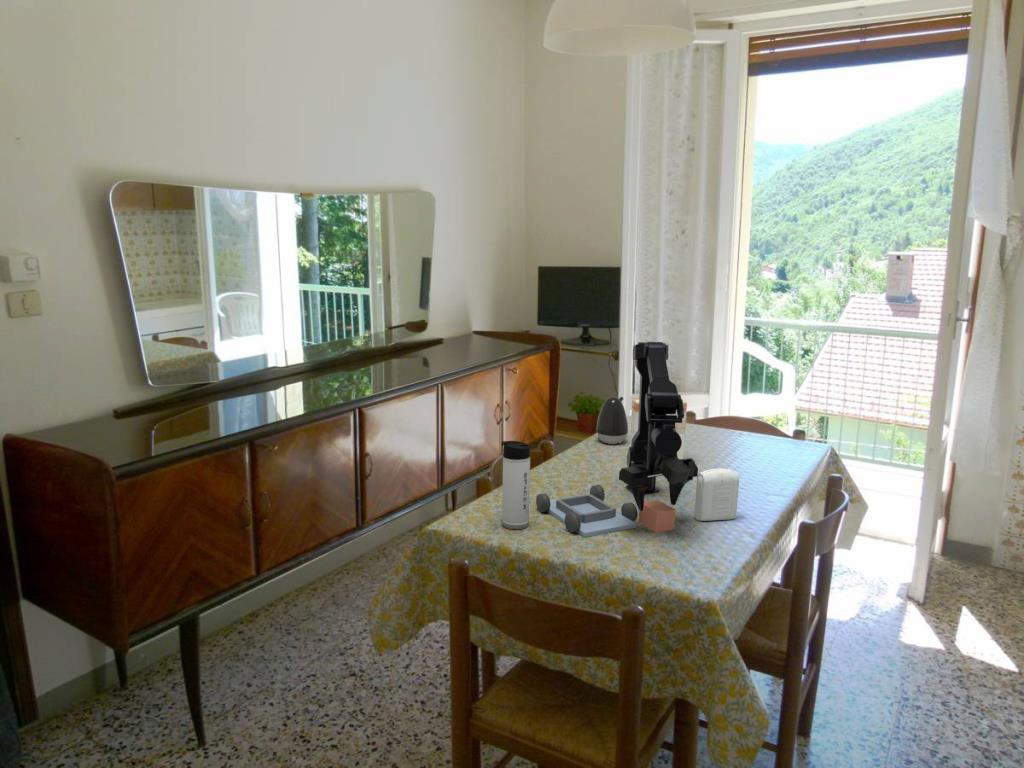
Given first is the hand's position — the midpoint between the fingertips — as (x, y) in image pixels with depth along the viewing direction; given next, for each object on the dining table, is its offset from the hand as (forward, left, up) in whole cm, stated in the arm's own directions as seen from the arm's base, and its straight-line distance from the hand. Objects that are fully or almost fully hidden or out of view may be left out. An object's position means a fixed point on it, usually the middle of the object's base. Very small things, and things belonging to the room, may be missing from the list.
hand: (657, 507), depth 177 cm
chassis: (+12, -12, -4) cm, 18 cm away
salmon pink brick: (0, 0, -5) cm, 5 cm away
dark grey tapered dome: (-31, -65, -5) cm, 72 cm away
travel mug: (+30, -14, -5) cm, 33 cm away
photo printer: (-16, +2, -5) cm, 17 cm away
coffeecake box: (-30, -40, -5) cm, 50 cm away
